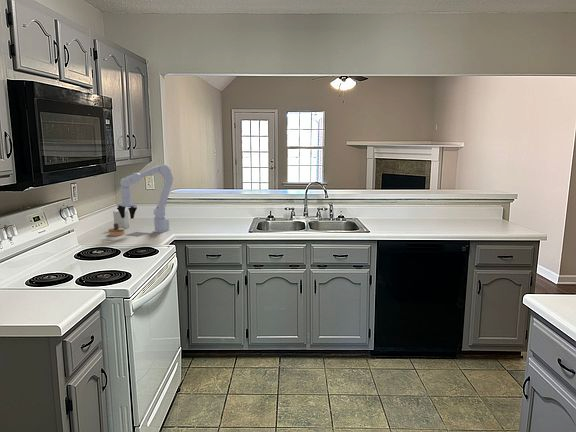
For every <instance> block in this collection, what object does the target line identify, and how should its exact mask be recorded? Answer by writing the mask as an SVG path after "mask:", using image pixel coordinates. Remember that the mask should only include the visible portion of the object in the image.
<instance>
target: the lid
mask: <svg viewBox="0 0 576 432" xmlns="http://www.w3.org/2000/svg"><path fill="white" fill-rule="evenodd" d="M107 231H108V233H109V232H120V231H124V232H125V229H124V228H119V225H118V223H114V222H113V227H112V228H109V229H107Z"/></svg>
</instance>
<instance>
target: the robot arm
mask: <svg viewBox="0 0 576 432" xmlns="http://www.w3.org/2000/svg"><path fill="white" fill-rule="evenodd" d="M153 174H161V176H162V177H163V179H164V183H163V186H162V188H161V194H160V196H159V199H158V203H157V205H156V208H155V209H154V210H153V215H154V217H153V221H154V222H153V223H154V225H153V226H154V230H152V231H151V232H152V233H164V232H168V231H170V222H169V221H170V220H169V218H168V217H166V213H165V212H166V206H167V201H168V198H169V195H170V192H171V188H172V185H173V181H174V176H173V174H172V171H171V168H170V167H169V166H168V165H166V164H164V163H163V164H160V165H156V166H153V167H151V168H148V169H147V170H144V171H142V172H132V174H129V175H126V176H125V177H123V178H121V179H120V181H119V184H120V197H121V202H119V203H118V202H117V203H116V210H118V211H119V213H120V215H121V218H125V210H126V208H128V209H127V210H128V213H129V217H130V220H131V219H135V214H136V211H137V209H138V206H137V205H138V204H136V203H132V195H131V193H132V192H131V186H132V185H134V184H137V183H139V182H142V180H143V178H145V177H148V176H151V175H153Z"/></svg>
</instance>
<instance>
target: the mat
mask: <svg viewBox="0 0 576 432" xmlns="http://www.w3.org/2000/svg"><path fill="white" fill-rule="evenodd" d="M149 234H150V232H142V231H141V232H140V231H135V232H130V233H128V234H125V236H126V237H127V236H129V237H137V238H138V237H141V236H146V235H149Z"/></svg>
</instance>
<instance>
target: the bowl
mask: <svg viewBox="0 0 576 432" xmlns="http://www.w3.org/2000/svg"><path fill="white" fill-rule="evenodd" d="M108 235H109V236H112V237H118V236H123V235H126V234H125V230H124V231H120V232H109V231H108Z"/></svg>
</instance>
